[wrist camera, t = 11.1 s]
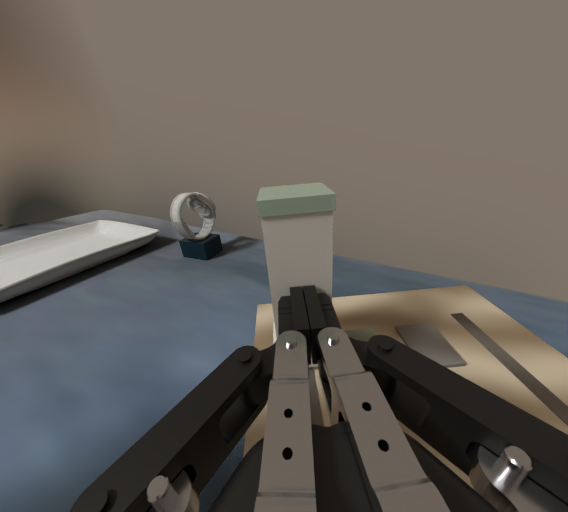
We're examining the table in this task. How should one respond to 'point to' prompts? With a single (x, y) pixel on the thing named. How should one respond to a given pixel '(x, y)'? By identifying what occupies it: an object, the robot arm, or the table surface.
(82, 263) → the square plate
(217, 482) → the table surface
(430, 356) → the switch board
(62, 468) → the table surface
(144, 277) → the table surface
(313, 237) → the tall beige block
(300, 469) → the robot arm
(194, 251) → the watch
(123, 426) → the table surface
